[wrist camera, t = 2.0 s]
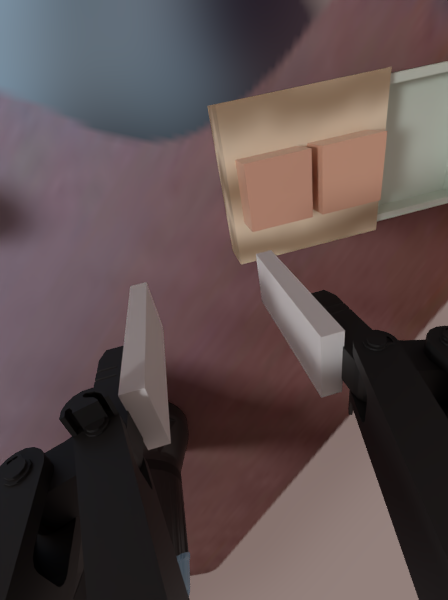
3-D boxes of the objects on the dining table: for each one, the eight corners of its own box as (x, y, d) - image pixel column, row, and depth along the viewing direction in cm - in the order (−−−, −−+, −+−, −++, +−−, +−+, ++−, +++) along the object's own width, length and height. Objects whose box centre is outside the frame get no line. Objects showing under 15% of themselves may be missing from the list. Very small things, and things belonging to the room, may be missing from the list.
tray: (443, 193, 39) (463, 198, 36) (356, 215, 38) (370, 222, 35) (472, 55, 31) (500, 50, 29) (364, 78, 30) (383, 75, 28)
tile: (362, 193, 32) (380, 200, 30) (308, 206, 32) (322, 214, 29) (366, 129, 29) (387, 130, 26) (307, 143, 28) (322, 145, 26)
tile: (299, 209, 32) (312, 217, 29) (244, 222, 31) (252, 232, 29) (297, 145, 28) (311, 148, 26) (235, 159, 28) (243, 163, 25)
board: (355, 219, 38) (375, 229, 35) (232, 251, 37) (241, 264, 33) (364, 72, 30) (391, 66, 27) (207, 105, 29) (215, 104, 25)
